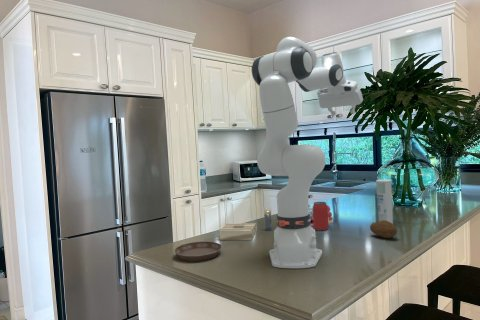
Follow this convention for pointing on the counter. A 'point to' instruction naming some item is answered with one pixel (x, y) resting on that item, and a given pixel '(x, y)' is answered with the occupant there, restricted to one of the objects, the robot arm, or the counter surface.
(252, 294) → the counter surface
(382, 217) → the spray can
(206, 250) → the plant saucer
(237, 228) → the block
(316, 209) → the beer can
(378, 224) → the potato
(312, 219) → the candy landscape model
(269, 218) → the grey and gold cylinder
